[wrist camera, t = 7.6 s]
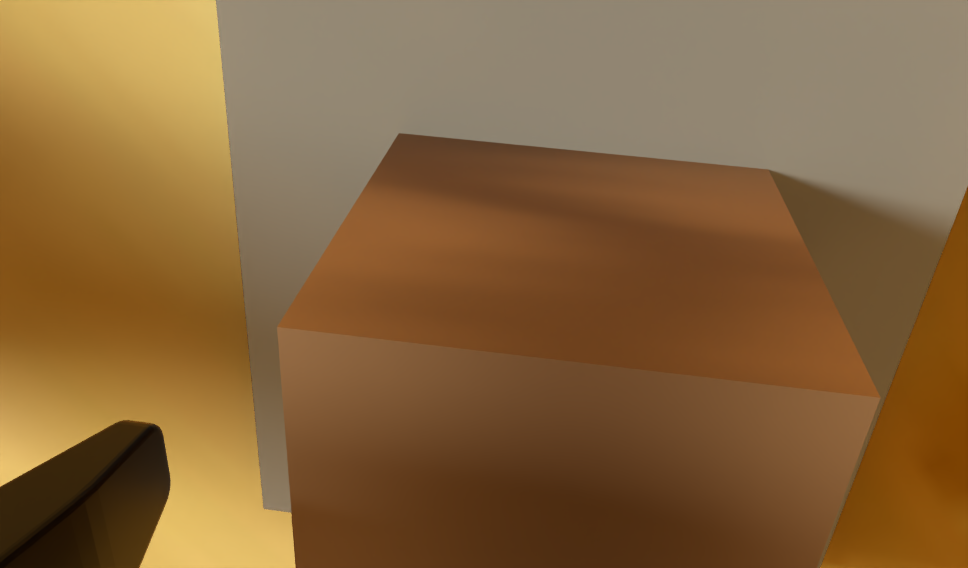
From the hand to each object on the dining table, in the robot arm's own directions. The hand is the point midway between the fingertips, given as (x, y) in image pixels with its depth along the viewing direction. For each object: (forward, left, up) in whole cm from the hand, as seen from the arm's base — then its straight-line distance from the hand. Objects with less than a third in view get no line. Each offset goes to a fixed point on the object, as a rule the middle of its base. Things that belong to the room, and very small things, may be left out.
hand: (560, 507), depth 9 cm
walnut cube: (0, 0, -4) cm, 4 cm away
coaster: (0, 0, -5) cm, 5 cm away
